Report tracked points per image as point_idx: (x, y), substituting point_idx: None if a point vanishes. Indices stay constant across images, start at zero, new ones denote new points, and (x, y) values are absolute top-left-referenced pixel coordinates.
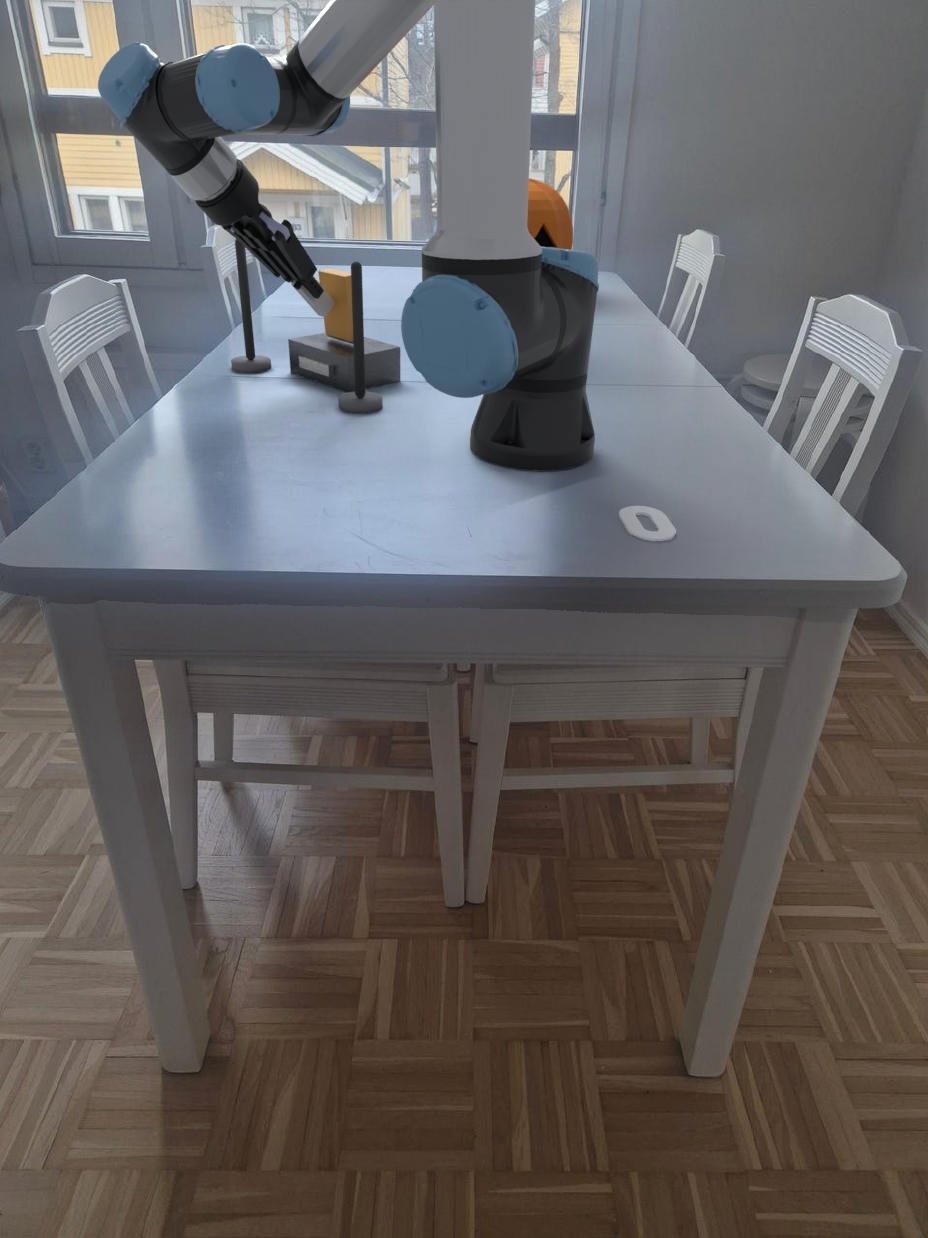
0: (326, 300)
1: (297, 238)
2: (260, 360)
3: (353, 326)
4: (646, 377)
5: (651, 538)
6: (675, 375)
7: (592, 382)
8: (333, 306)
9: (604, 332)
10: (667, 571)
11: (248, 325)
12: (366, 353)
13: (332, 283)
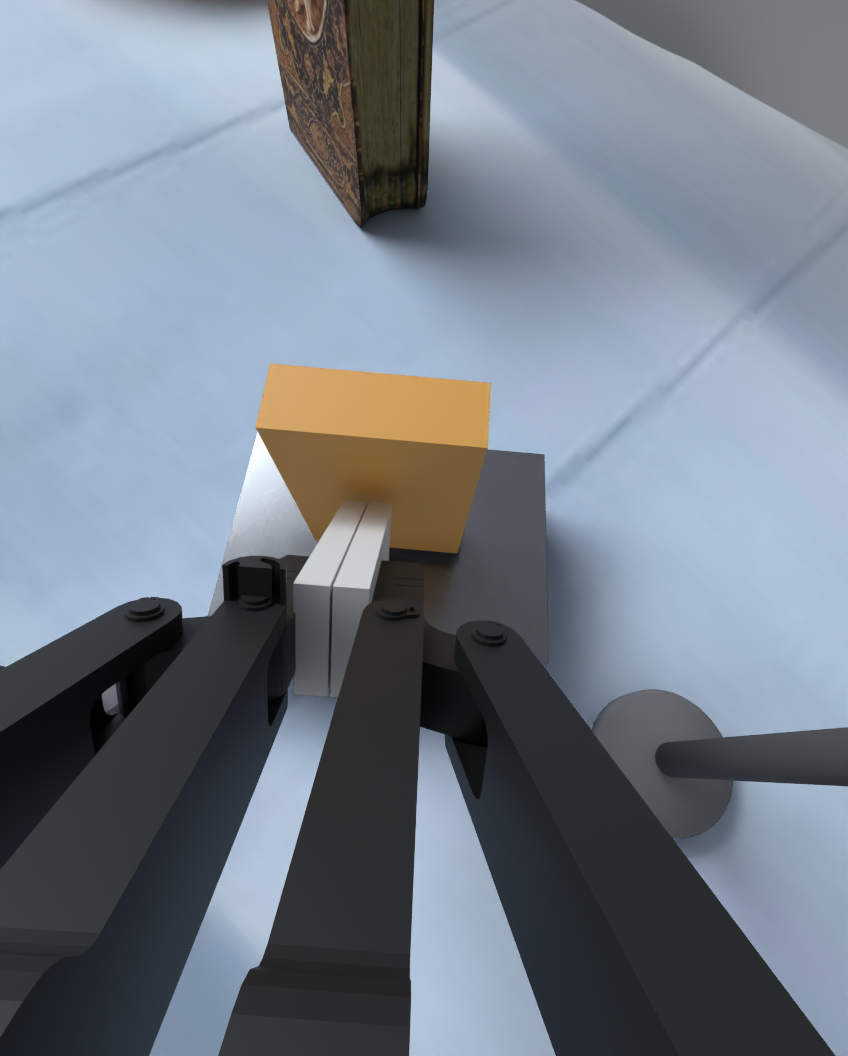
0: (387, 544)
1: (805, 1017)
2: (115, 685)
3: (828, 784)
4: (799, 194)
5: None
6: (814, 162)
7: (777, 265)
8: None
9: (521, 44)
10: None
11: None
12: (543, 579)
13: (374, 462)
